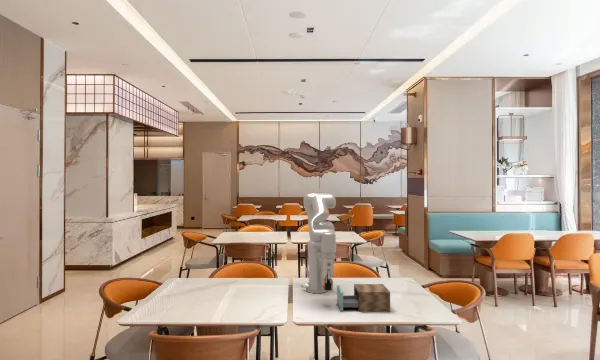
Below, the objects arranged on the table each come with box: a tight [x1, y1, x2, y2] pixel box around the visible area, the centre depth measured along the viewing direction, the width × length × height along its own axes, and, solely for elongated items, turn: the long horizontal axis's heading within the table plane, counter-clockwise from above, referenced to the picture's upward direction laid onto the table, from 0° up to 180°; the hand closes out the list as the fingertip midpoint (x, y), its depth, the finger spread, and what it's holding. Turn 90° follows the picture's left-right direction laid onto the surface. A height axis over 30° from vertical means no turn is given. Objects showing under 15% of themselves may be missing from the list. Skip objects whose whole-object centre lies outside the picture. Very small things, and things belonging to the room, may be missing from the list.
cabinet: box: [353, 283, 391, 313], centre depth 216 cm, size 16×16×10 cm
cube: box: [323, 278, 334, 292], centre depth 218 cm, size 5×5×5 cm
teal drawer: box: [336, 284, 359, 312], centre depth 215 cm, size 16×16×9 cm
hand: (327, 288), depth 218 cm, fingers closed on cube, 4 cm apart
